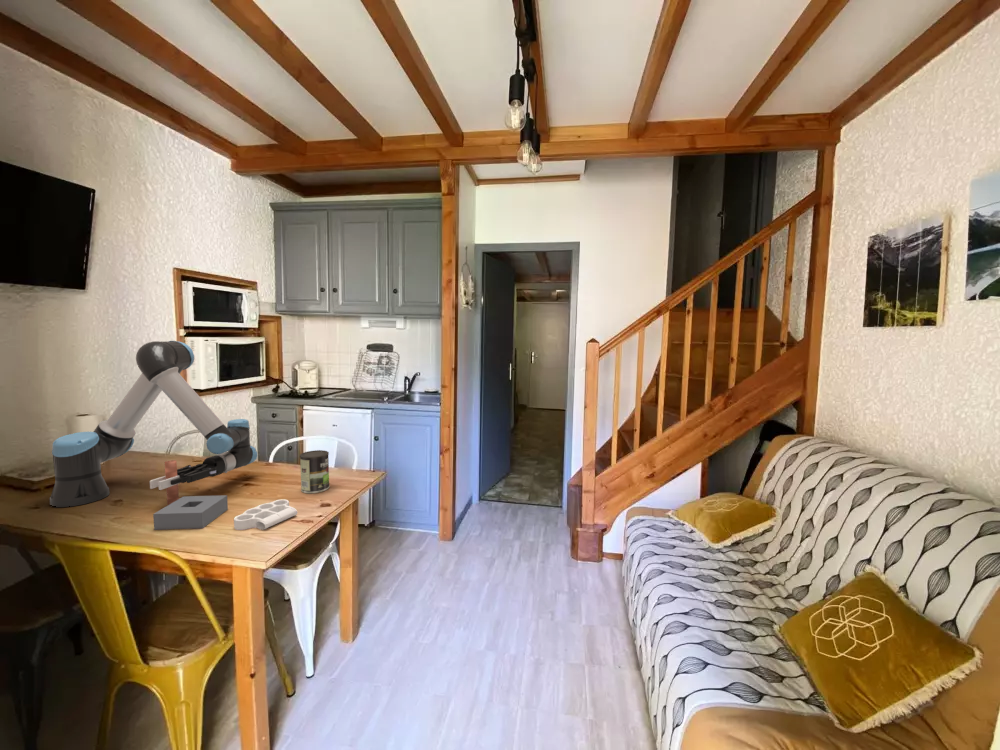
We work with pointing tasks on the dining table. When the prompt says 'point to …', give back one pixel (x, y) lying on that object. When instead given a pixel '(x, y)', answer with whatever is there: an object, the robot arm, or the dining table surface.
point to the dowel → (171, 472)
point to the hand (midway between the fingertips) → (155, 485)
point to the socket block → (190, 512)
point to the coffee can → (314, 471)
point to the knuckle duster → (264, 515)
